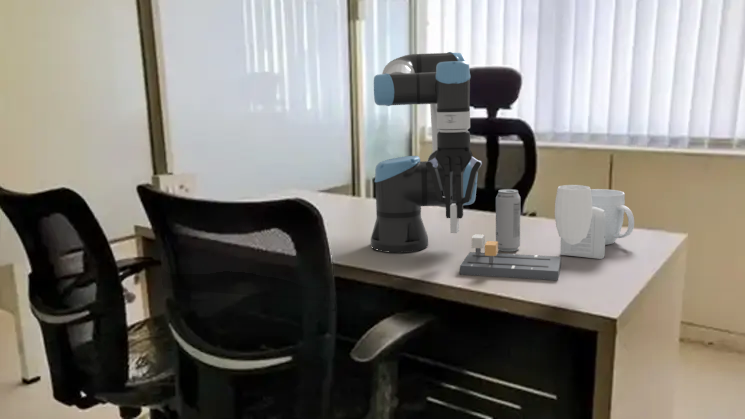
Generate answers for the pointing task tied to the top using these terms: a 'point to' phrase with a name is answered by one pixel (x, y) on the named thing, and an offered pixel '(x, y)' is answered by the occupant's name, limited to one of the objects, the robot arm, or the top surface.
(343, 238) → the top surface
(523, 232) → the top surface
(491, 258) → the fader orange
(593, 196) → the mug
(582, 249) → the photo printer
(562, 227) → the cup
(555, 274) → the console
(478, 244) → the fader white
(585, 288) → the top surface
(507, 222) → the energy drink can
